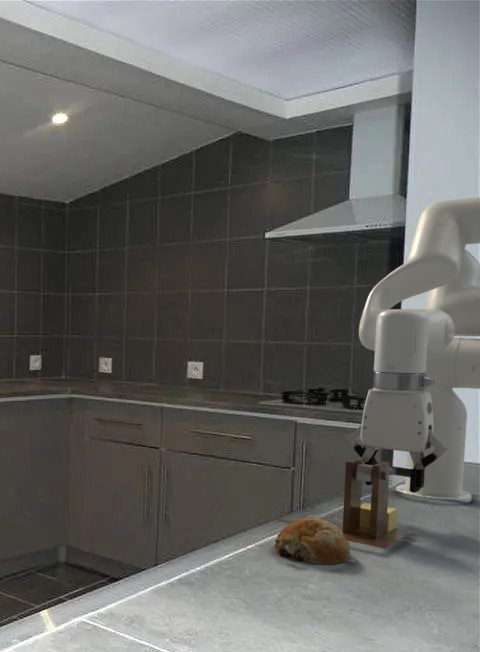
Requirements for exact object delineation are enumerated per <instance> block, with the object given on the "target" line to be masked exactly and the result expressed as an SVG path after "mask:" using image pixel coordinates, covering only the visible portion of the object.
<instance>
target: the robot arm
mask: <svg viewBox="0 0 480 652" xmlns="http://www.w3.org/2000/svg"><path fill="white" fill-rule="evenodd" d="M477 244H478V245H479V244H480V196H475V197H465V198H464V197H463V198H455V199H446V200H441V201H437V202H434V203H432V204H429V205H428V206H427V207H425V208H424V209H423V211H422V212H421V213H420V215H419V218H418V221H417V224H416V228H415V230H414V234H413V238H412V242H411V245H410V248H409V251H408V255H407V258H406V261H405V262H404V263H403V264H401V265H400V266H398V267H396V268H395V269H394V270H392V271H391V272H390V273H389V274H387V275H386V276H385V277H384V278H382V279H381V280H380V281H378V283H377V284H376V285H374V287H373V288H372V289H371V291H370V292H369V294H368V296H367V299H366V301H365V305H364V307H363V311H362V314H361V317H360V321H359V326H358V337H359V341H360V343H361V344H362V346H363V347H364V348H365V349H368V350H370V351H374V359H373V360H374V362H373V377H372V378H373V379H372V380H373V381H372V388H370V389H368V391H367V395H366V398H365V403H364V407H363V412H362V418H361V425H360V426H359V427H357V428H356V429H355V430H354V431H352V432H351V433H350V434H348V435H347V436H346V437H345V442H347V443H348V444H349V445H350V446H351V448H353V450H354V451H355V452H356V454H357V455H358V456H359V458H361V459H363V464H365V465H375V464H378V463H379V462H378V460H376V457H377V455H378V453H379V451H380V449H382V450H383V449H384V450H391V451H399V452H406V467H405V468H408V469H411V474H410V477H405V482H404V483H405V484H400V485H397V486H396V488H395V491H396V492H400V493H401V494H402V493H403V494H406V495H408V496H413V497H418V498H424V499H431V500H439V501H441V500H442V501H457V502H463V503H470V502H471V501H472V497H473V496H472V494H471V493H470V492H468V491H465V490H464V489H463V484H464V469H465V468H464V467H465V454H466V453H465V452H466V439H467V438H466V436H467V421H468V420H467V419H468V411H467V408H466V405H465V403H464V402H463V401H462V399H461V398H460V397H459V396H458V394H457V393H456V392H455V391H454V390H453V389H473V390H475V389H476V390H480V338H466V337H480V262H479V260H477V258H476V257H475V256H474V254H472V253H471V252H470V251H468V250H467V249H466V246H467V245H477ZM425 293H427V296H426V301H425V307H424V308H423V309H422V308H421V309H420V308H419V309H418V308H417V309H415V308H396V309H395V308H393V307H394V306H395V305H398V304H399V303H401V302H403V301H404V300H405V301H406V300H407V299H410V298H412V297H415V296H418V295H422V294H425ZM464 337H465V338H464ZM365 485H366V486H372V482H369V481H365Z"/></svg>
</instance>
